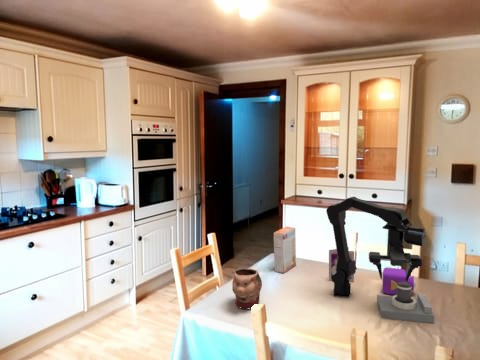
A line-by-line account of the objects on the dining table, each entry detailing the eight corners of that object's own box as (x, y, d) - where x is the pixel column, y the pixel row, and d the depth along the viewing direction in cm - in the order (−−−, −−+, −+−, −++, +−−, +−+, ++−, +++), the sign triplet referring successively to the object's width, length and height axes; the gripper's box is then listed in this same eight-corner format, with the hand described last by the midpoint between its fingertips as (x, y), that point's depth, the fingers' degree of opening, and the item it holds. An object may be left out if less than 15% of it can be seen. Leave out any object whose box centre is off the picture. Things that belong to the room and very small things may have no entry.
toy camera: (418, 298, 152) (419, 275, 150) (383, 296, 154) (384, 273, 153) (411, 288, 162) (412, 266, 161) (379, 286, 165) (379, 265, 164)
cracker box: (286, 263, 197) (286, 226, 195) (296, 265, 194) (296, 227, 191) (273, 271, 186) (272, 231, 183) (283, 273, 182) (283, 233, 180)
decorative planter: (237, 292, 162) (236, 262, 160) (264, 293, 160) (264, 263, 158) (228, 313, 142) (227, 279, 140) (259, 315, 140) (258, 280, 138)
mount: (381, 318, 136) (381, 304, 135) (376, 301, 149) (377, 289, 149) (433, 323, 131) (434, 309, 131) (424, 305, 145) (425, 293, 144)
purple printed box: (328, 281, 171) (328, 250, 170) (328, 275, 179) (328, 246, 177) (353, 282, 169) (354, 251, 167) (352, 277, 176) (352, 247, 174)
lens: (397, 306, 138) (398, 286, 137) (395, 301, 143) (396, 281, 142) (412, 308, 137) (412, 287, 136) (409, 302, 142) (410, 282, 141)
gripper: (372, 245, 134) (370, 286, 136) (427, 249, 130) (424, 291, 131) (369, 237, 145) (367, 274, 147) (420, 240, 140) (417, 279, 142)
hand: (393, 279), depth 142 cm, fingers open, 9 cm apart
